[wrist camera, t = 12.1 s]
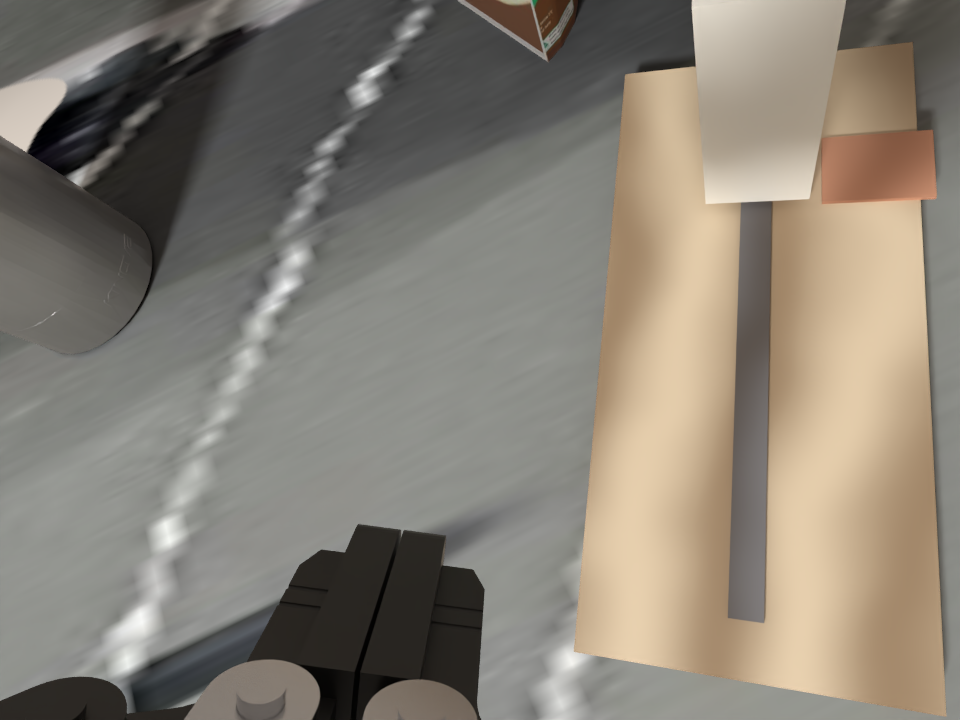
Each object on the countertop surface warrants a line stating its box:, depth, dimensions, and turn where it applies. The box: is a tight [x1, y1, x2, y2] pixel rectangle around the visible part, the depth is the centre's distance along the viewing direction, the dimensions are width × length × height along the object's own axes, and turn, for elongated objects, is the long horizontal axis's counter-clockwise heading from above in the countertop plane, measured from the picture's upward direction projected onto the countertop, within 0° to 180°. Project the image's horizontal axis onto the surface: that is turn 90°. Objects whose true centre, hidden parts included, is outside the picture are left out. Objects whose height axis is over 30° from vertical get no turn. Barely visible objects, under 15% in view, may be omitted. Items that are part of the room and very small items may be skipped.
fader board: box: [574, 42, 946, 717], centre depth 29 cm, size 12×26×2 cm, turn 173°
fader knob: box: [692, 0, 846, 204], centre depth 25 cm, size 4×3×11 cm
